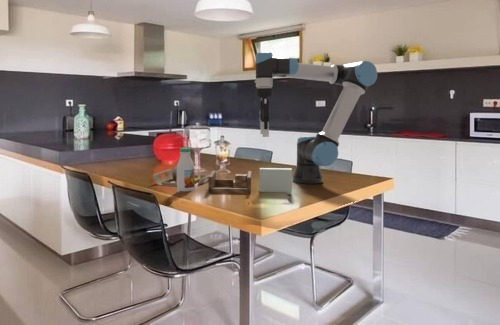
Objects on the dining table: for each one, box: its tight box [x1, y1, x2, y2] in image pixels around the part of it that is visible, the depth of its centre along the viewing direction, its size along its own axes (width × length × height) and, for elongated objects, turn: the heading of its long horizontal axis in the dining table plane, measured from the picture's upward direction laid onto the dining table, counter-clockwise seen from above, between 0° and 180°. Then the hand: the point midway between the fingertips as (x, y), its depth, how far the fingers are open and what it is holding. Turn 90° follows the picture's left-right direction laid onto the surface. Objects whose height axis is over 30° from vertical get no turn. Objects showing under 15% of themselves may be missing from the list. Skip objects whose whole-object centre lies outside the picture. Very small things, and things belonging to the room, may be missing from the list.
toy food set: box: [152, 166, 210, 187], centre depth 197 cm, size 25×18×8 cm
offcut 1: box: [234, 173, 248, 183], centre depth 180 cm, size 5×4×3 cm
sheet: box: [258, 167, 293, 195], centre depth 175 cm, size 14×4×11 cm, turn 89°
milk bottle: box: [176, 147, 195, 193], centre depth 175 cm, size 8×8×20 cm
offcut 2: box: [233, 180, 247, 188], centre depth 181 cm, size 6×5×3 cm
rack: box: [207, 170, 252, 195], centre depth 177 cm, size 18×16×8 cm
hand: (264, 135), depth 181 cm, fingers open, 13 cm apart
